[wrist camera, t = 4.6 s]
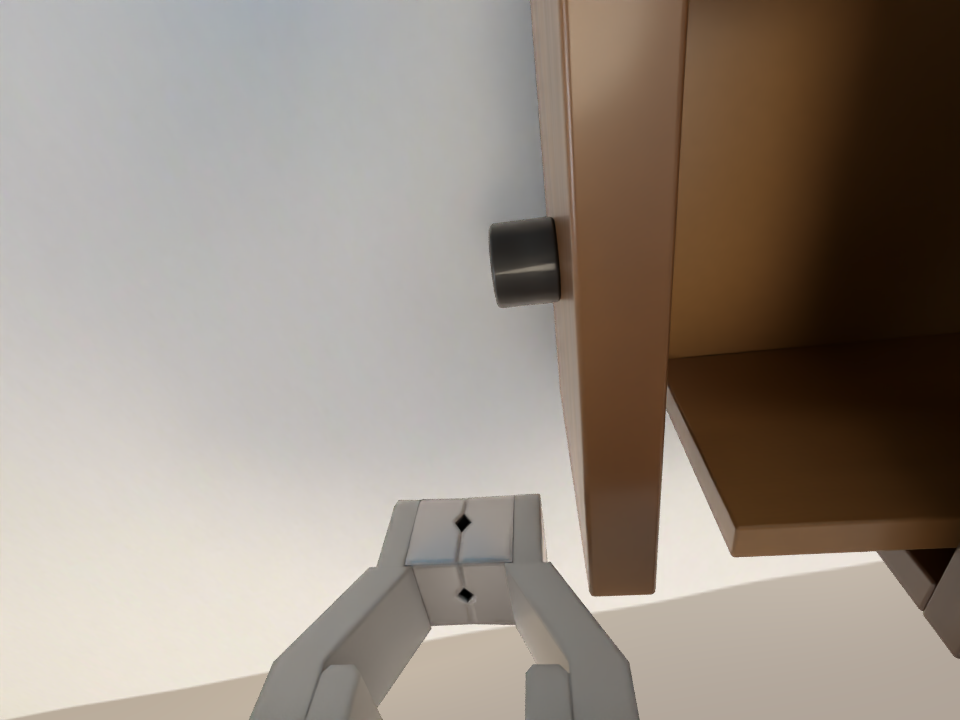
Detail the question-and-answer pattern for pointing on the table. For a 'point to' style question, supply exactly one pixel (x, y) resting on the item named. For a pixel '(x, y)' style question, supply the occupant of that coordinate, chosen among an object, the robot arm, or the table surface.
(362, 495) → the table surface
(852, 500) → the wooden drawer
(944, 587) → the cabinet
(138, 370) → the table surface
